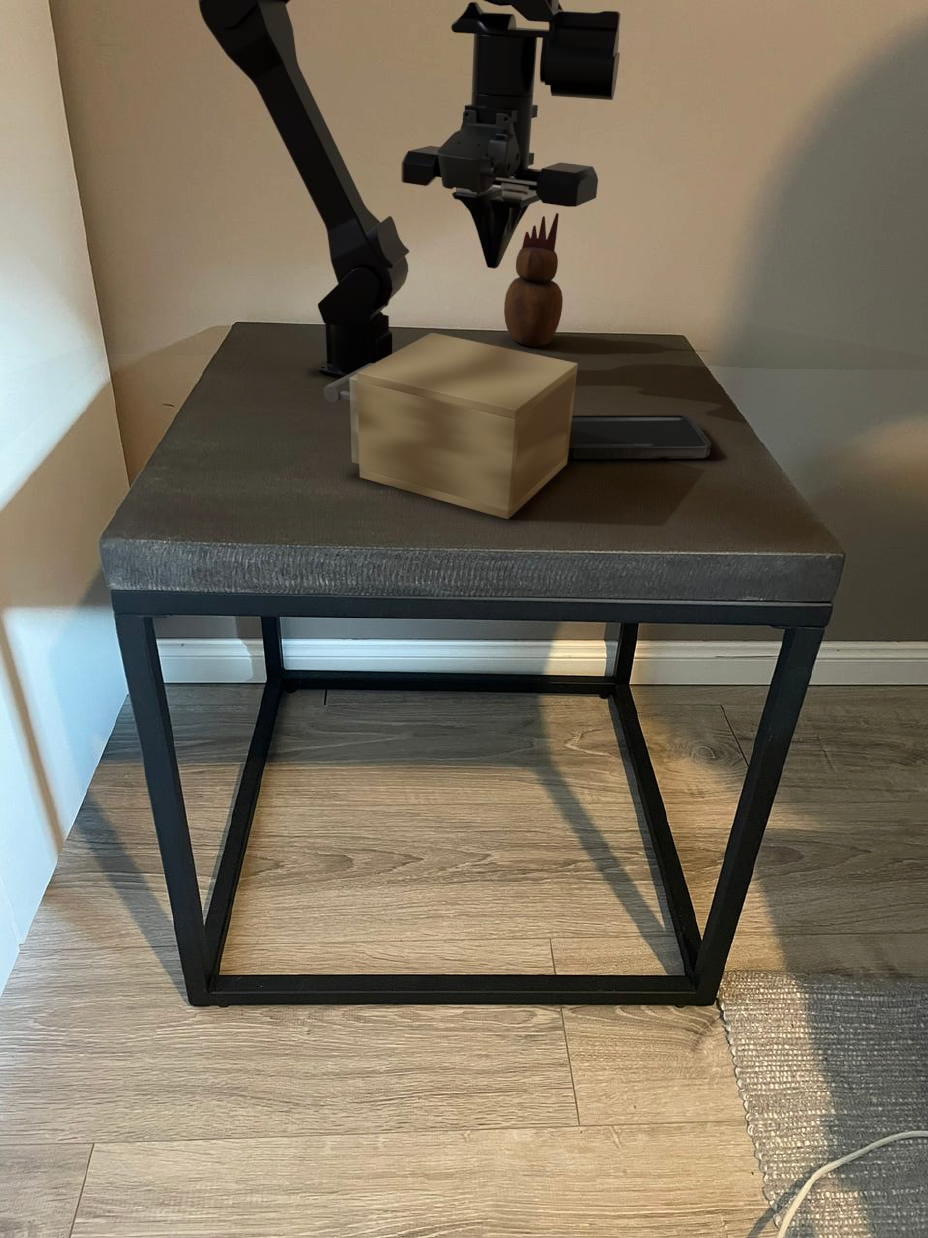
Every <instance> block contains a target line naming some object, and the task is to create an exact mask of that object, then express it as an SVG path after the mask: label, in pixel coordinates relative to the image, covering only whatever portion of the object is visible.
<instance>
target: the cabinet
mask: <svg viewBox="0 0 928 1238" xmlns="http://www.w3.org/2000/svg"><path fill="white" fill-rule="evenodd" d="M578 366H579V363H578V362H574V361H573V362H572V361H569V360H563V359H559V358H558V359H557V358H554V357H550V356H544V355H540V354H536V353H531V352H530V353H529V352H526V351H521V350H516V349H511V348H508V347H507V348H506V347H502V346H497V345H493V344H488V343H483V342H479V341H473V340H469V339H464V338H459V337H456V336H451V335H446V334H440V333H436V332H431V333H428V334H427V335H425V336H423V337H421V338H419V339H417V340H415V341H414V342H412V343H410V344H408V345H406V346H404V347H402V348H400V349H398V350H396V351H395V352H392V354H391V355H389V356H387V357H385V358H383V359H382V360H380V361H378V362H376V363H374V364H372V365H370V366H368V367H367V368H365V369H363V370H361V371H359V372H357V381H358V382H357V384H358V425H359V464H358V465H359V478H361V479H364V480H367V481H371V482H375V483H378V484H381V485H385V486H390V487H392V488H395V489H399V490H402V491H407V492H409V493H412V494H417V495H419V496H424V497H428V498H431V499H435V500H438V501H441V502H445V503H449V504H451V505H455V506H459V507H463V508H466V509H469V510H472V511H473V510H474V511H477V512H480V513H483V514H487V515H490V516H494V517H498V518H501V519H503V520H504V519H505V520H509V519H511V517H512V516H514V515H515V514H516V513H517V512H518V511H519V510H520V509H521V508H522V507H523V506H524V505H525V504H527V503H528V501H529V500H531V499H532V498H533V497H534V496H535V495H536V494H537V493H538V492H539V491H541V489H542V488H543V487H545V485H546V484H548V483H549V481H551V480H552V479H553V478H554V477H555V476H556V475H558V473H559V472H560V471H562V469H563V468H564V467H565V466H567V464H568V459H567V458H568V457H567V456H568V449H569V440H570V431H571V422H572V415H573V413H574V412H573V411H574V403H575V395H576V387H577V376H578Z"/></svg>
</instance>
